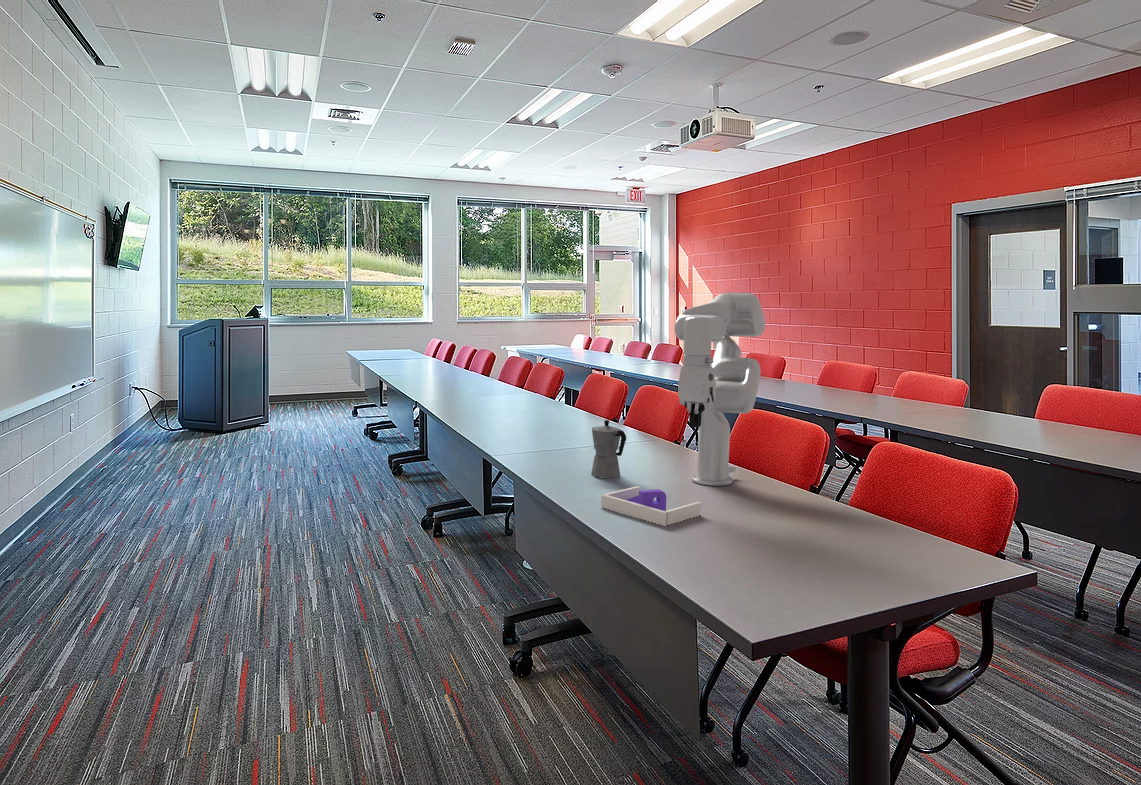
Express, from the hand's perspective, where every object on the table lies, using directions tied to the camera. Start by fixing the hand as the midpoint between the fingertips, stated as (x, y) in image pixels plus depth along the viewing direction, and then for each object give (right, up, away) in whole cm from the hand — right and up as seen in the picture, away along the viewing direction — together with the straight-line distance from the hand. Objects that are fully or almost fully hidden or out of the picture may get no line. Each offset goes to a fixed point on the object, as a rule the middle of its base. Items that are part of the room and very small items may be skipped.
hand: (695, 426), depth 196 cm
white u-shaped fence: (-14, -22, -10) cm, 28 cm away
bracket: (-15, -22, -9) cm, 28 cm away
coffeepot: (-23, -17, +29) cm, 41 cm away
